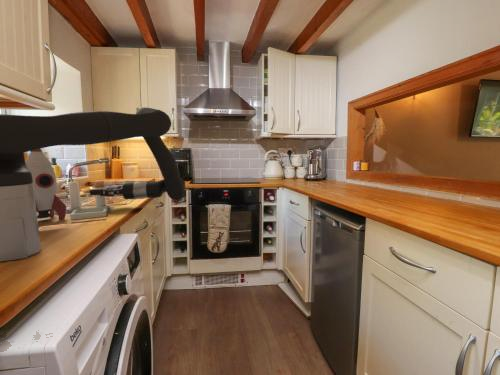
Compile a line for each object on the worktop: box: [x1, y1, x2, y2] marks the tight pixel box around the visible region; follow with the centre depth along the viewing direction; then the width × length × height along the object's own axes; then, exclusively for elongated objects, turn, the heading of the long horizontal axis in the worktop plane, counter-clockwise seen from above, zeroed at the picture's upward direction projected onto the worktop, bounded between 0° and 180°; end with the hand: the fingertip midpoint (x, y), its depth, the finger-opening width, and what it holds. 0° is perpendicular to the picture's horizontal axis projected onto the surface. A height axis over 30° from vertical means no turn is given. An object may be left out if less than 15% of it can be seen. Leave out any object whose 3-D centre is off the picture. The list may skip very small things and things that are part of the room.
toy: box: [25, 148, 67, 220], centre depth 94 cm, size 11×11×30 cm
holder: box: [37, 204, 115, 216], centre depth 109 cm, size 7×27×3 cm, turn 114°
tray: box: [69, 205, 109, 225], centre depth 103 cm, size 11×11×3 cm
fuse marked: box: [93, 179, 107, 207], centre depth 112 cm, size 4×4×12 cm
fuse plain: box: [67, 181, 82, 213], centre depth 108 cm, size 4×4×12 cm
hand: (92, 191), depth 111 cm, fingers closed on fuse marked, 3 cm apart
